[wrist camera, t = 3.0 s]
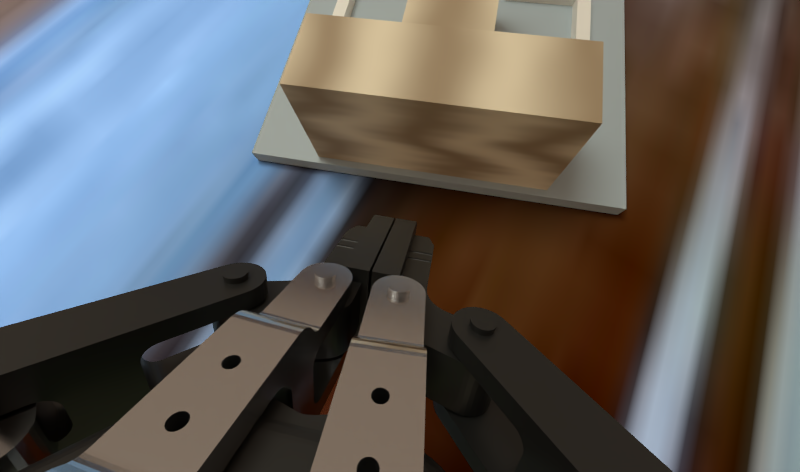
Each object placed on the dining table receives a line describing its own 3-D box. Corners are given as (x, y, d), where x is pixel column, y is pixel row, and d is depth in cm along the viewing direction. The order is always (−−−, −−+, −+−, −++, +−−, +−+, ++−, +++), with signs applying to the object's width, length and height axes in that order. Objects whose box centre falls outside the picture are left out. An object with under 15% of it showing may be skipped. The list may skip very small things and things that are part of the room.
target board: (617, -90, 32) (629, -118, 30) (617, 214, 22) (635, 202, 20) (356, -104, 35) (352, -130, 33) (258, 159, 25) (245, 144, 23)
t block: (558, 23, 26) (605, -86, 20) (546, 190, 22) (602, 123, 15) (365, 5, 28) (348, -100, 22) (318, 156, 24) (279, 83, 17)
